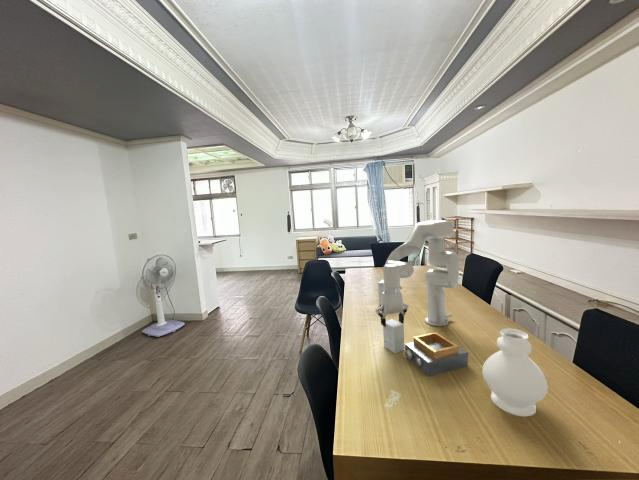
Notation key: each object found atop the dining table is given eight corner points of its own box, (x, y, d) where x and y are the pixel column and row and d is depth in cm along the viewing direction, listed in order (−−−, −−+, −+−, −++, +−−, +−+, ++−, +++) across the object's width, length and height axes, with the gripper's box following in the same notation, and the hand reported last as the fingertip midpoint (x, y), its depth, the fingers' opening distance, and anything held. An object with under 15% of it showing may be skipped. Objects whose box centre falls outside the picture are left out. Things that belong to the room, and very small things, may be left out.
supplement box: (395, 303, 190) (395, 280, 188) (392, 307, 182) (391, 283, 180) (383, 301, 195) (382, 279, 193) (378, 305, 187) (377, 282, 185)
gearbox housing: (441, 347, 128) (441, 329, 127) (468, 365, 113) (468, 345, 112) (403, 356, 123) (402, 338, 122) (425, 376, 107) (425, 356, 106)
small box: (404, 349, 128) (404, 324, 127) (394, 353, 126) (393, 327, 124) (393, 342, 135) (392, 318, 134) (383, 346, 133) (382, 321, 131)
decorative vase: (551, 431, 79) (555, 352, 76) (481, 410, 88) (482, 340, 86) (541, 394, 94) (543, 327, 91) (482, 380, 103) (482, 318, 100)
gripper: (403, 285, 133) (403, 318, 135) (371, 289, 128) (372, 323, 130) (412, 289, 126) (412, 324, 127) (379, 294, 121) (380, 330, 123)
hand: (392, 324), depth 129 cm, fingers open, 9 cm apart
